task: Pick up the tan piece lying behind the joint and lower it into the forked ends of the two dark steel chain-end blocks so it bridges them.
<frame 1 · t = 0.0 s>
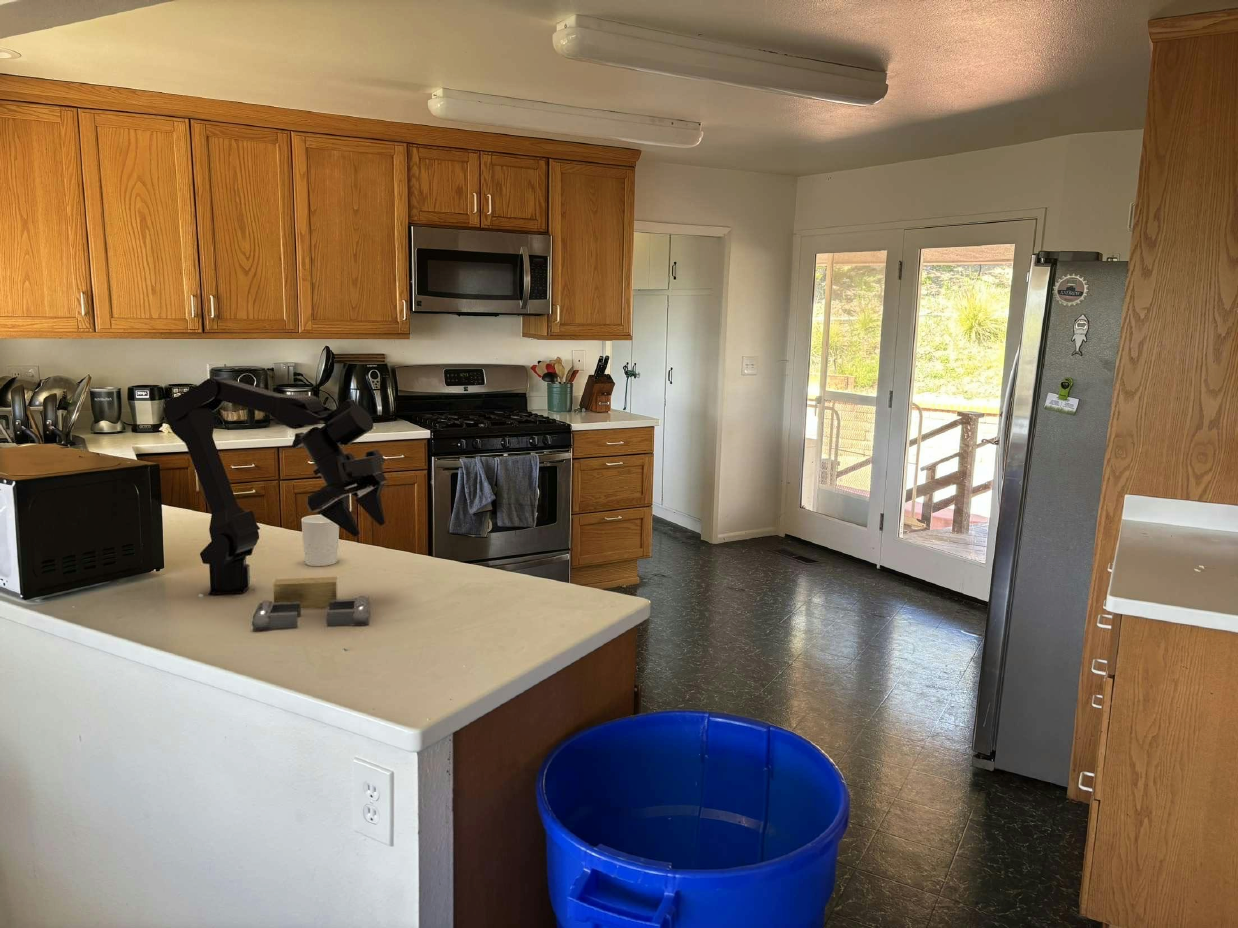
hand: (370, 529, 161), 15 cm above the table, tool tilted 35°, fingers open, 9 cm apart
white cup: (321, 563, 192), on the table
tan piece: (306, 606, 163), on the table
chain end b: (348, 618, 157), on the table
chain end a: (277, 622, 154), on the table
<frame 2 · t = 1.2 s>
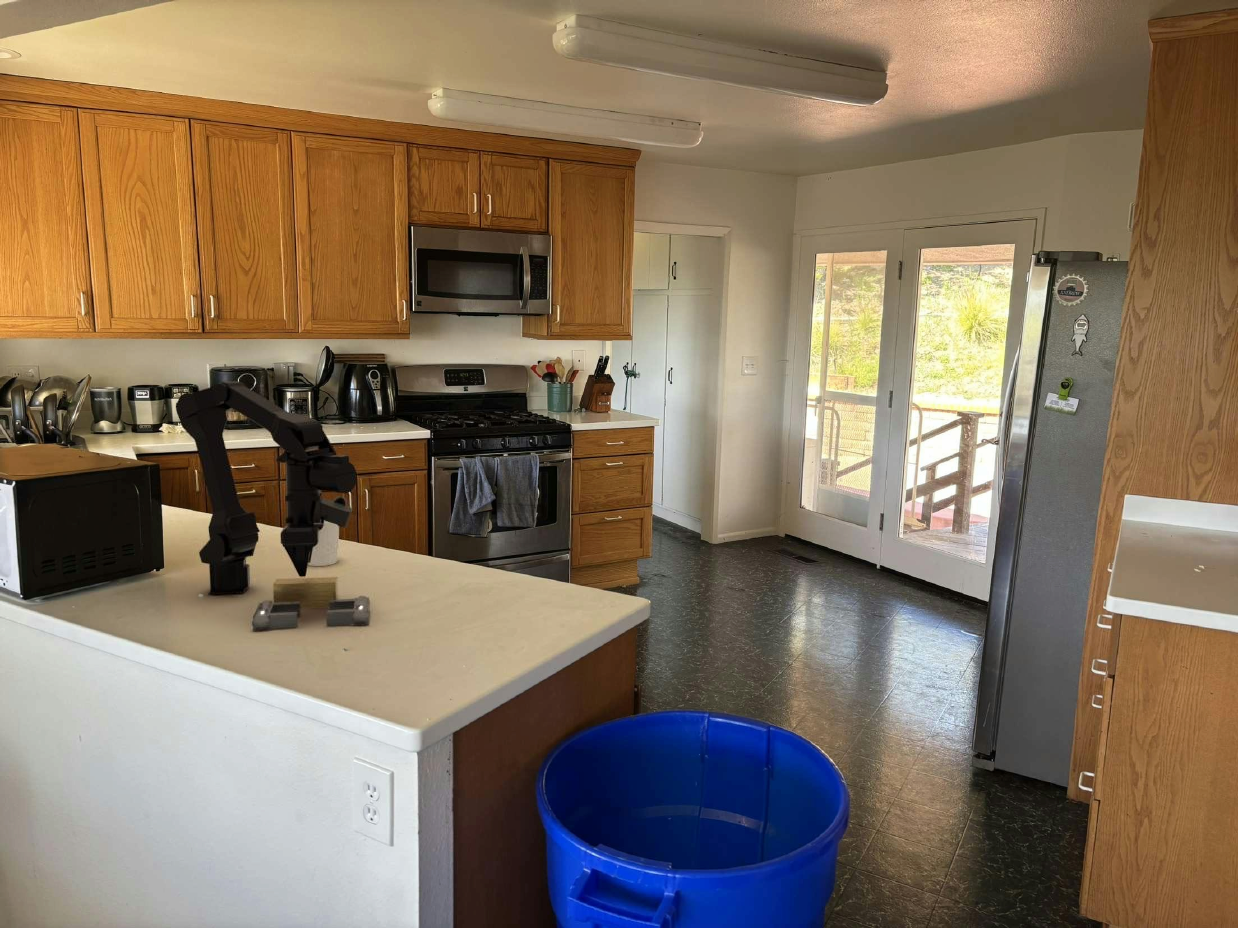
hand: (305, 569, 162), 7 cm above the table, tool pointing down, fingers open, 9 cm apart
nothing on the table moved.
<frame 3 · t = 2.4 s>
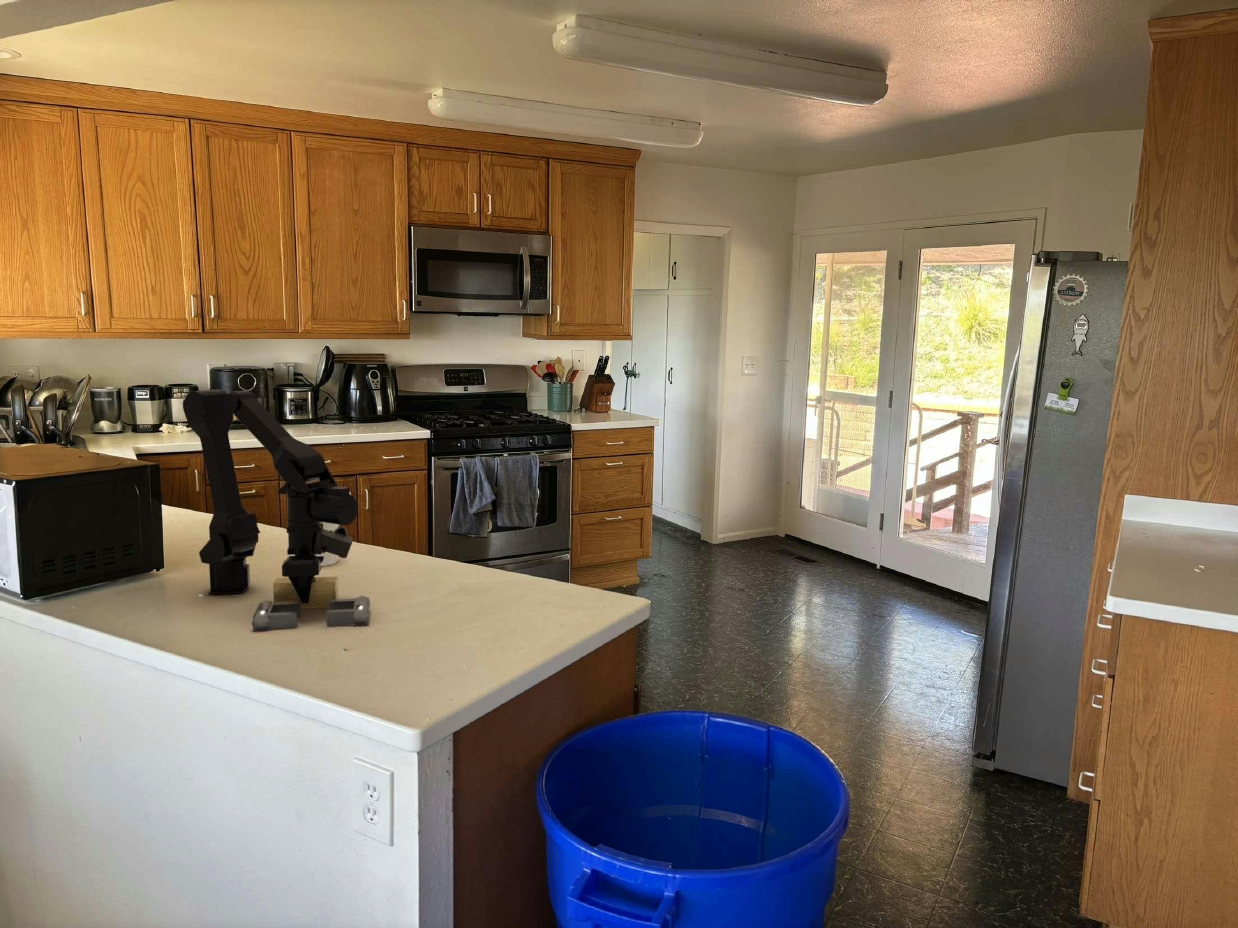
hand: (306, 599, 163), 1 cm above the table, tool pointing down, fingers closed on tan piece, 3 cm apart
tan piece: (306, 605, 163), on the table, touching gripper
everything else where it was.
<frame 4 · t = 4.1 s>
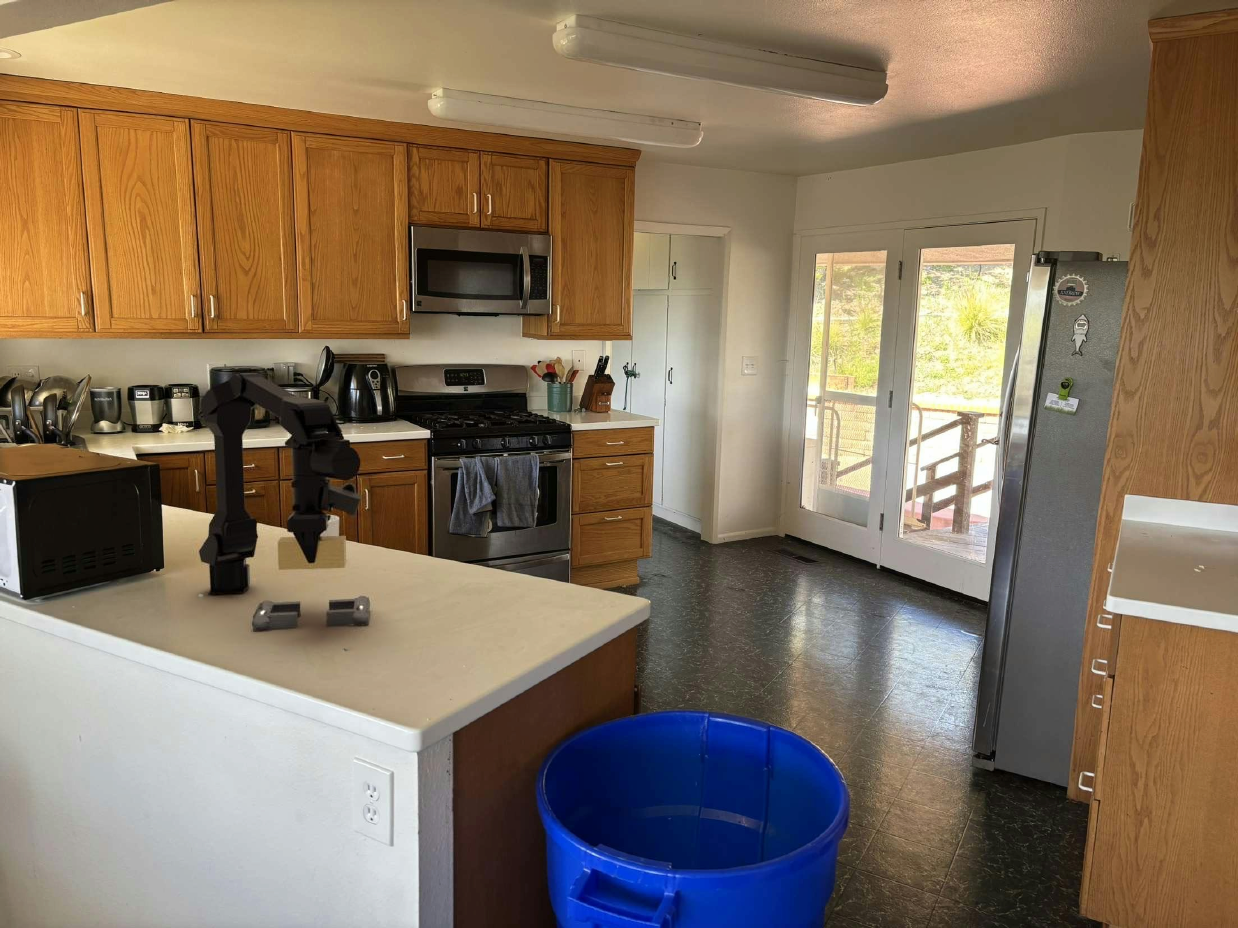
hand: (312, 560, 154), 11 cm above the table, tool pointing down, fingers closed on tan piece, 3 cm apart
tan piece: (313, 566, 154), point 10 cm above the table, touching gripper
everything else where it was.
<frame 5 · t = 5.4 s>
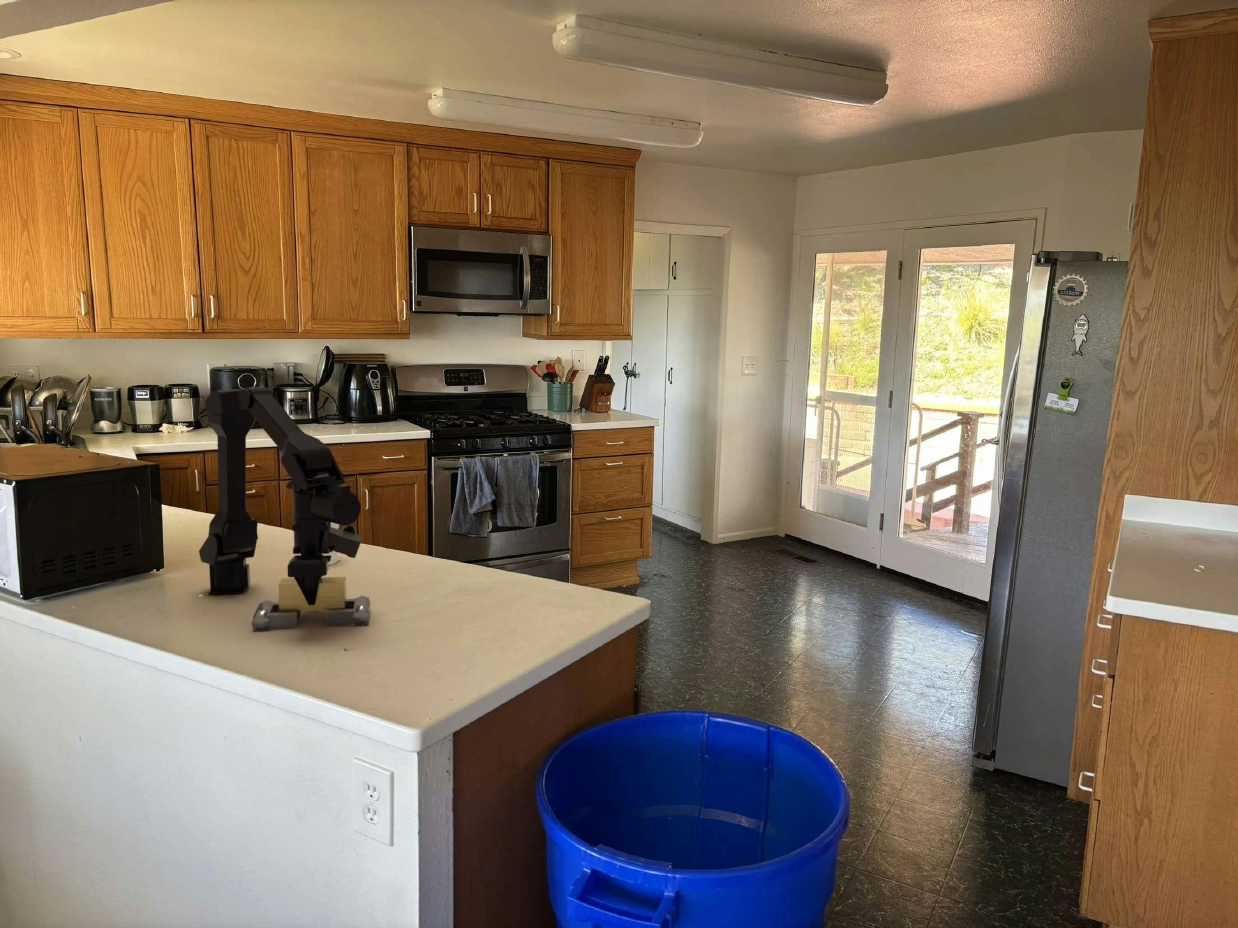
hand: (312, 601, 155), 3 cm above the table, tool pointing down, fingers closed on tan piece, 3 cm apart
tan piece: (313, 607, 155), point 2 cm above the table, touching gripper
everything else where it was.
when the fingers open (2 cm above the table, at t = 5.9 s): tan piece drops 2 cm, on the table.
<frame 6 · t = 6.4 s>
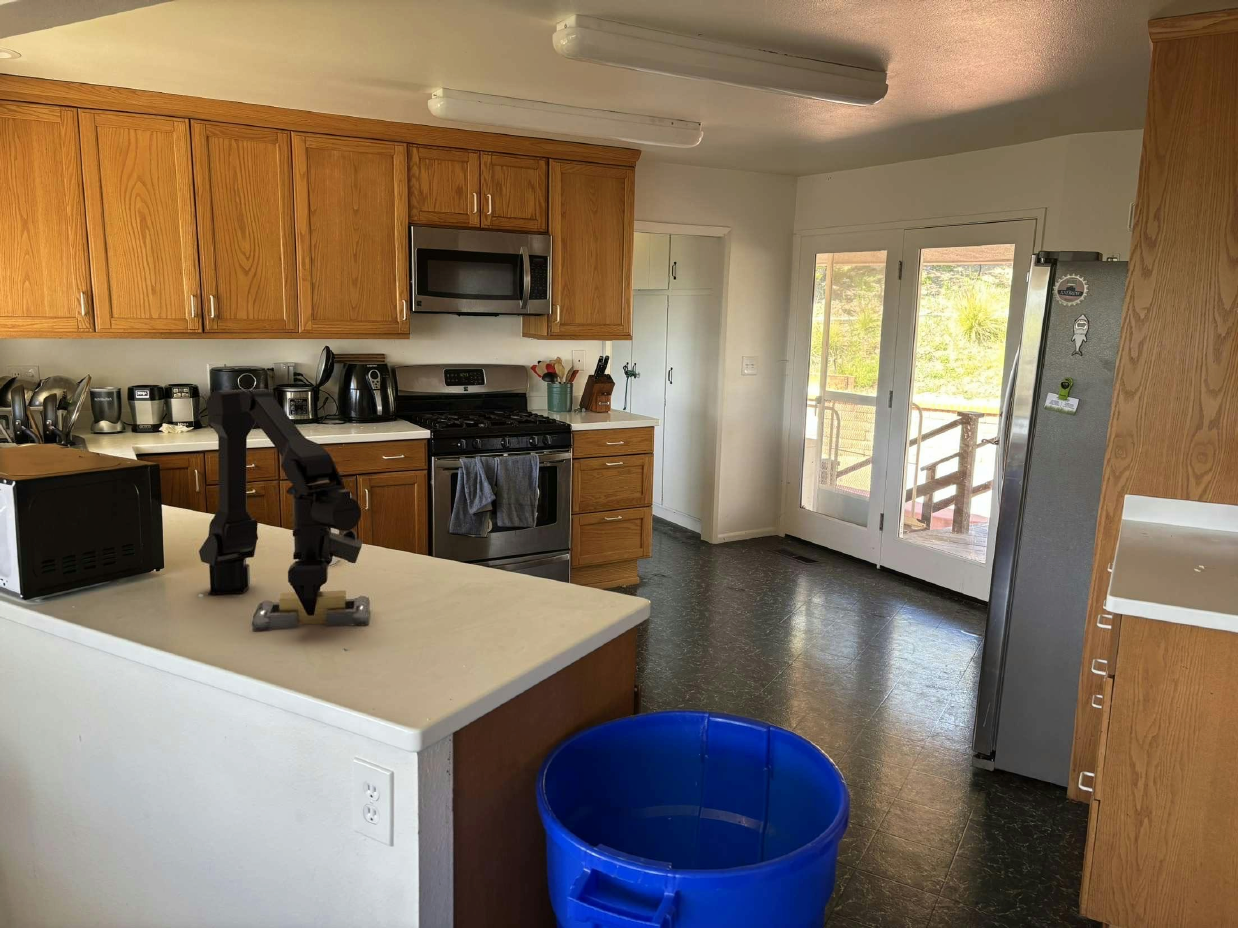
hand: (313, 606, 155), 2 cm above the table, tool pointing down, fingers open, 9 cm apart
tan piece: (313, 621, 155), on the table
everything else where it was.
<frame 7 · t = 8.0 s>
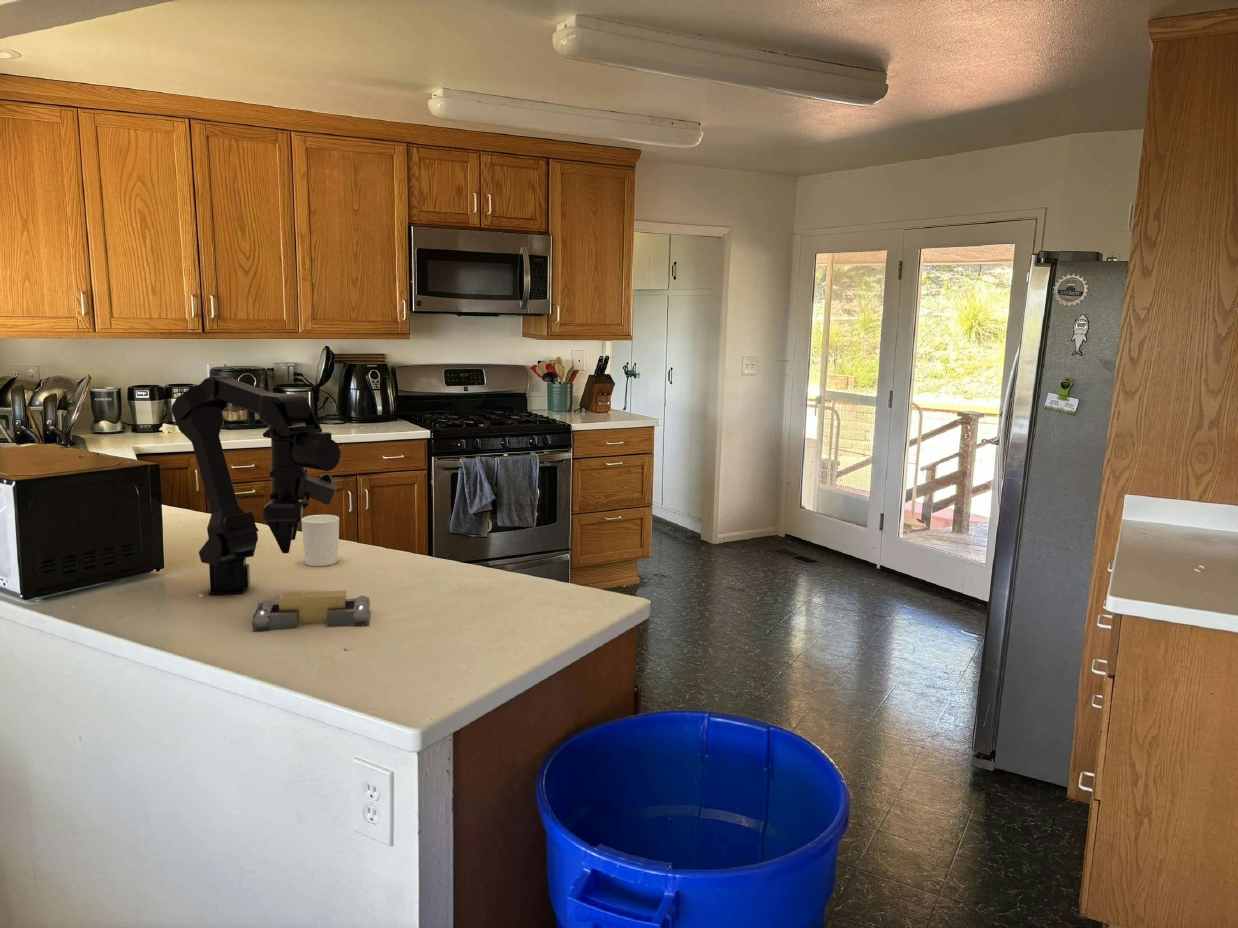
hand: (288, 546, 161), 11 cm above the table, tool pointing down, fingers open, 9 cm apart
nothing on the table moved.
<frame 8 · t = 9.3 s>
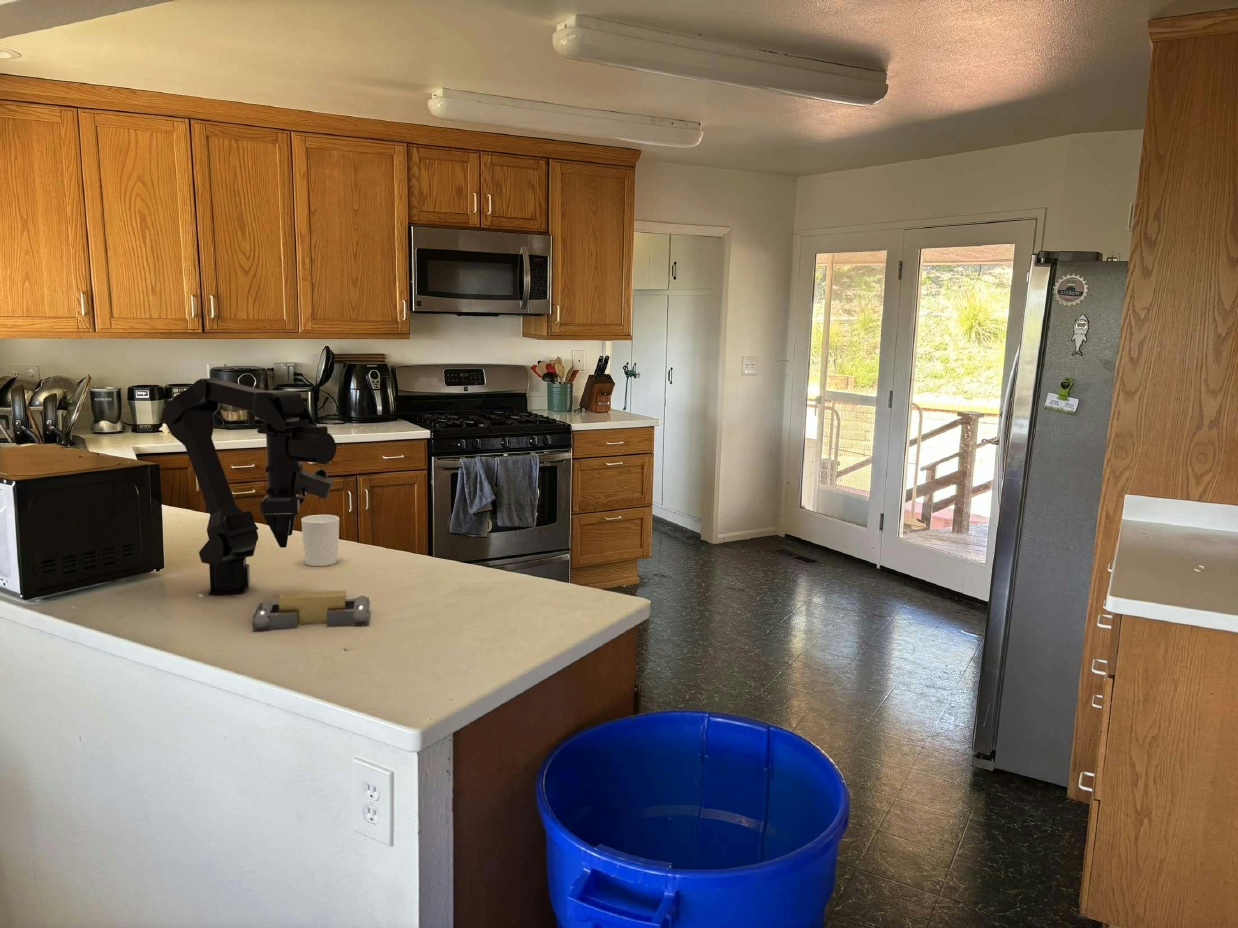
hand: (286, 541, 162), 12 cm above the table, tool pointing down, fingers open, 9 cm apart
nothing on the table moved.
at the end: tan piece 0.1 cm from the target spot, on the table; tan piece tilted 0°; the gripper is holding nothing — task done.
